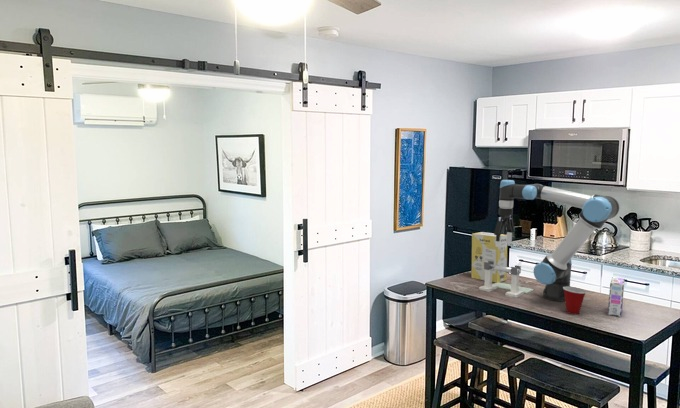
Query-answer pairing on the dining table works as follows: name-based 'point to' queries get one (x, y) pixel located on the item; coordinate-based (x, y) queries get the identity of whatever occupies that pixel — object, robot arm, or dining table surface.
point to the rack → (490, 287)
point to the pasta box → (488, 255)
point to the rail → (502, 268)
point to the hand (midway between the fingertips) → (503, 245)
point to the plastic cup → (573, 299)
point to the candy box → (616, 296)
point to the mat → (508, 287)
